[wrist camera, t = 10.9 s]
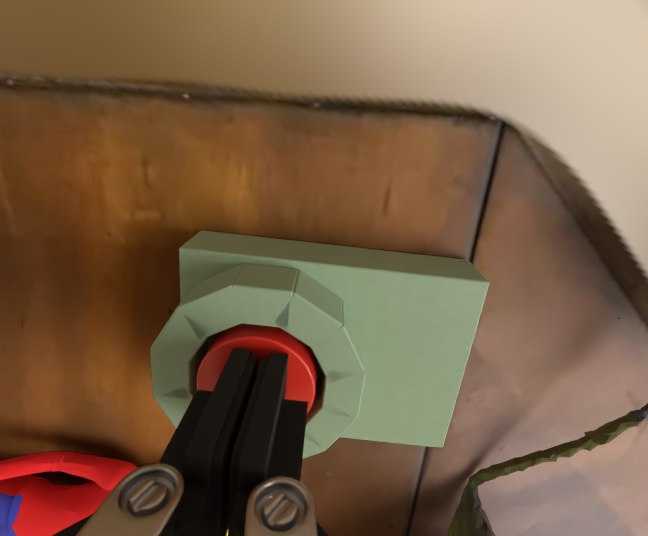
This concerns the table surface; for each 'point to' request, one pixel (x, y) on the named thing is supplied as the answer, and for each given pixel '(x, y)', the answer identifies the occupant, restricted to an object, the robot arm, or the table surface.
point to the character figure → (53, 491)
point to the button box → (332, 330)
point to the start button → (261, 344)
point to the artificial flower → (470, 519)
